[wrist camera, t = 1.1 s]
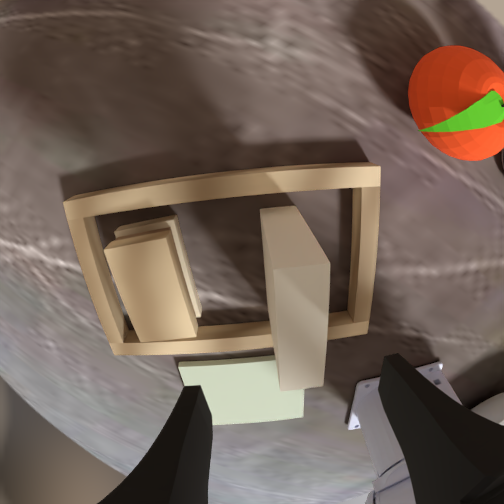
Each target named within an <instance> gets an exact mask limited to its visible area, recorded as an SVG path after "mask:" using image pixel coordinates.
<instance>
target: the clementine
mask: <svg viewBox="0 0 504 504" xmlns="http://www.w3.org/2000/svg"><path fill="white" fill-rule="evenodd" d="M408 98H409V106H410V110H411V113H412V116H413V119H414V121H415V122H416V124H417V126H418V128H419V131H421V132H422V134H423V135H424V136H425V137H426V138H427V139H428V141H429V142H430V143H431V144H432V145H433V146H434V147H436V148H437V149H439V150H440V151H441V152H443V153H445V154H447V155H449V156H451V157H454V158H457V159H460V160H469V161H474V160H483V159H485V158H488V157H490V156H493V155H495V154H497V153H498V152H499V151H501V150H502V149H503V148H504V73H503V71H502V70H501V69H500V68H499V67H498V66H497V65H496V64H495V63H494V62H493V61H492V60H491V59H490V58H489V57H487V56H485V55H484V54H482V53H480V52H478V51H476V50H474V49H472V48H468V47H464V46H444V47H439V48H437V49H435V50H433V51H431V52H429V53H428V54H426V55H424V56H423V57H422V58H421V60H420V61H419V62H418V64H417V65H416V66H415V68H414V70H413V72H412V75H411V78H410V80H409V88H408Z"/></svg>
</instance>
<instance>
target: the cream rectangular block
mask: <svg viewBox="0 0 504 504" xmlns="http://www.w3.org/2000/svg"><path fill="white" fill-rule="evenodd" d="M260 220H261V232H262V244H263V256H264V268H265V281H266V293H267V306H268V312H269V319H270V326H271V332H272V339H273V346H274V353H275V359H276V366H277V373H278V380H279V387H280V392H282V391H291V390H298V389H306V388H313V387H319V386H323V382H324V371H325V359H326V346H327V331H328V314H329V292H330V262H329V260H328V258H327V257H326V255H325V253H324V252H323V250H322V248H321V246H320V245H319V243H318V241H317V240H316V238H315V237H314V235H313V233H312V232H311V230H310V228H309V227H308V225H307V223H306V222H305V220H304V219H303V217H302V215H301V214H300V212H299V210H298V209H297V207H296V206H284V207H273V208H262V209H260Z"/></svg>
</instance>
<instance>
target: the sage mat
mask: <svg viewBox="0 0 504 504" xmlns="http://www.w3.org/2000/svg"><path fill="white" fill-rule="evenodd" d="M178 368H179V371H180V374H181V377H182V380H183V382H184V385H185V386H193V385H201V387H202V390H203V393H204V396H205V398H206V401H207V403H208V406H209V409H210V411H211V414H212V425H223V424H241V423H254V422H266V421H275V420H284V419H292V418H300V417H303V408H304V389H298V390H291V391H282V392H280V387H279V380H278V373H277V366H276V359H275V355H270V356H260V357H250V358H238V359H225V360H209V361H190V362H179V366H178Z"/></svg>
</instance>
